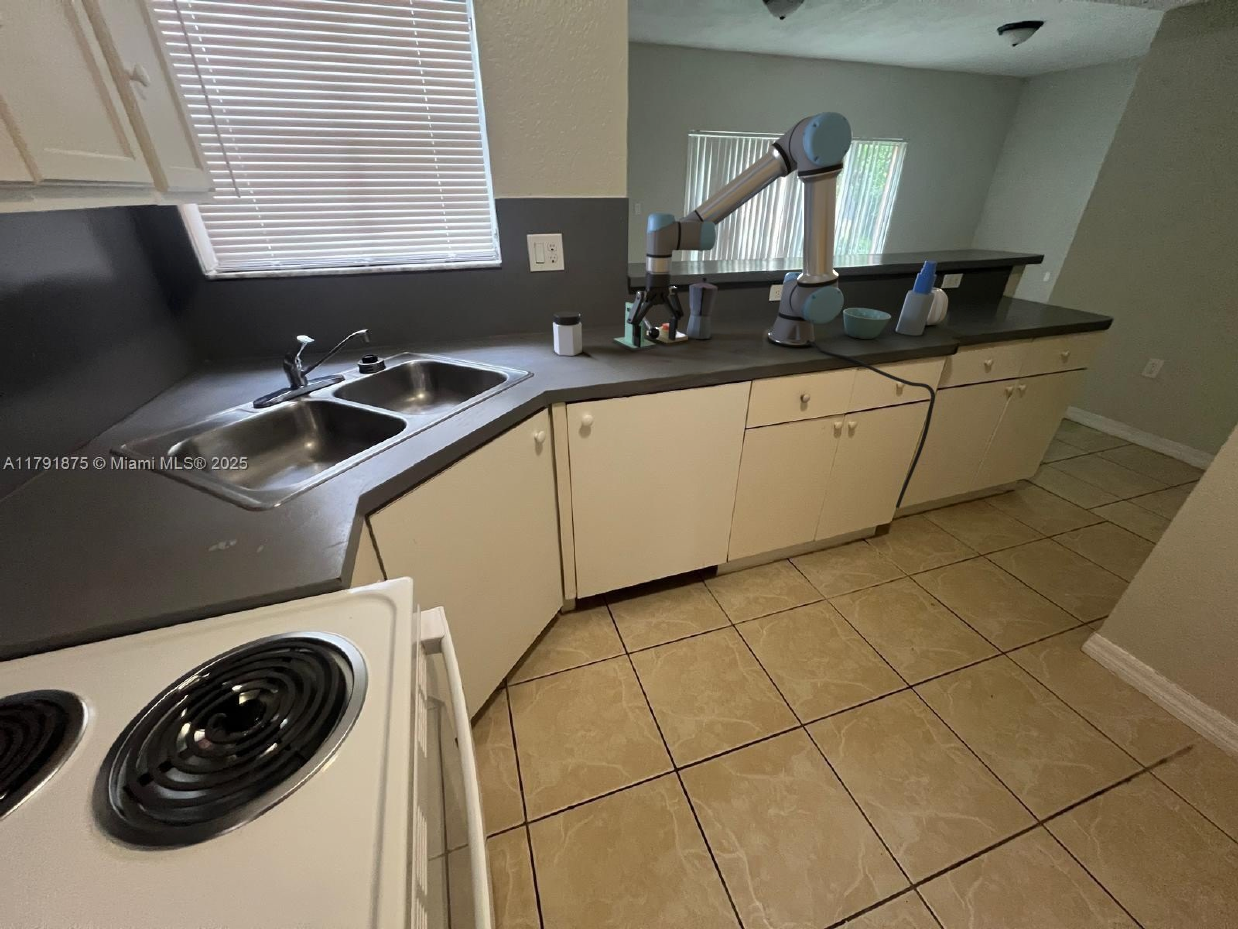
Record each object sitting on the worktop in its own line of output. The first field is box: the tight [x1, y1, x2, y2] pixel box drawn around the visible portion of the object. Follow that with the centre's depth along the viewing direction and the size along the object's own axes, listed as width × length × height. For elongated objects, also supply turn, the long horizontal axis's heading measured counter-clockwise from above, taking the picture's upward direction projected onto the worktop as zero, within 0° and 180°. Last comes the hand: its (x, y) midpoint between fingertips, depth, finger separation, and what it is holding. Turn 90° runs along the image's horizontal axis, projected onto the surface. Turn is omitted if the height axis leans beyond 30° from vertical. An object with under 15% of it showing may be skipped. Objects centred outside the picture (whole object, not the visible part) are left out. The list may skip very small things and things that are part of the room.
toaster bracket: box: [614, 301, 656, 349], centre depth 160 cm, size 12×9×14 cm
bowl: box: [843, 307, 892, 340], centre depth 176 cm, size 16×16×8 cm
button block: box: [646, 326, 689, 344], centre depth 168 cm, size 12×9×4 cm
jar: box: [552, 310, 583, 357], centre depth 153 cm, size 9×8×12 cm
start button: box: [661, 322, 669, 330], centre depth 167 cm, size 4×4×2 cm
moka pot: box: [685, 277, 718, 340], centre depth 168 cm, size 10×15×20 cm, turn 174°
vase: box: [925, 287, 949, 326], centre depth 192 cm, size 14×14×13 cm
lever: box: [631, 302, 660, 340], centre depth 155 cm, size 15×4×4 cm
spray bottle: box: [895, 260, 938, 336], centre depth 177 cm, size 9×9×25 cm
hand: (654, 343), depth 154 cm, fingers open, 13 cm apart
